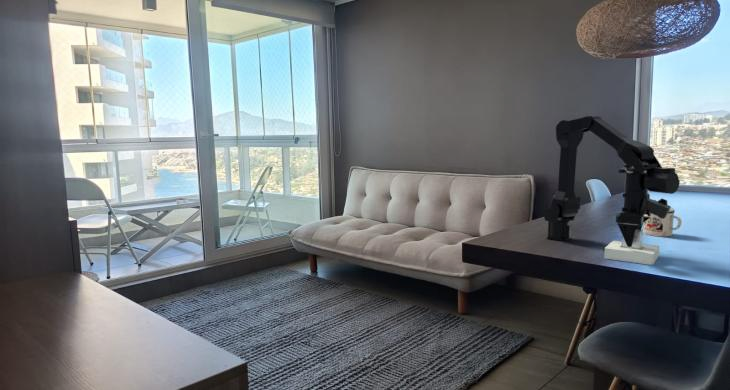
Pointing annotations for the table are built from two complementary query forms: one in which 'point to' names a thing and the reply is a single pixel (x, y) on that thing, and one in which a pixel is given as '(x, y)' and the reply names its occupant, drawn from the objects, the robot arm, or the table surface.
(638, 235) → the keyed peg
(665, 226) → the teacup with lid
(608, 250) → the hub block
